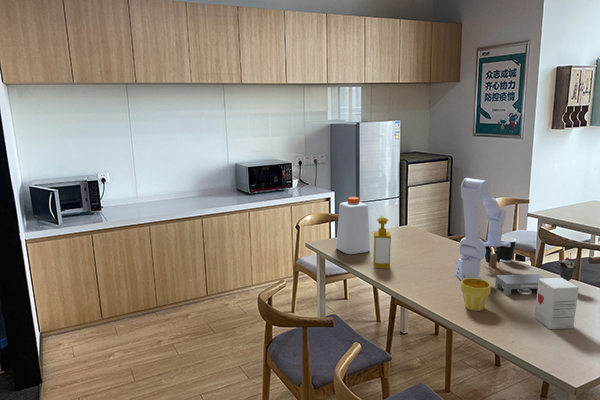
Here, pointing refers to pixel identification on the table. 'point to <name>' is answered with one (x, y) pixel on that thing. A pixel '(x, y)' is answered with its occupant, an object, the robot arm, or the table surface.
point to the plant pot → (475, 293)
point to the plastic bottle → (353, 227)
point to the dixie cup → (508, 249)
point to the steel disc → (524, 291)
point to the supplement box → (556, 303)
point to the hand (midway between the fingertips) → (492, 261)
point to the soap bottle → (382, 246)
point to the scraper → (495, 266)
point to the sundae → (567, 269)
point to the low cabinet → (517, 282)
